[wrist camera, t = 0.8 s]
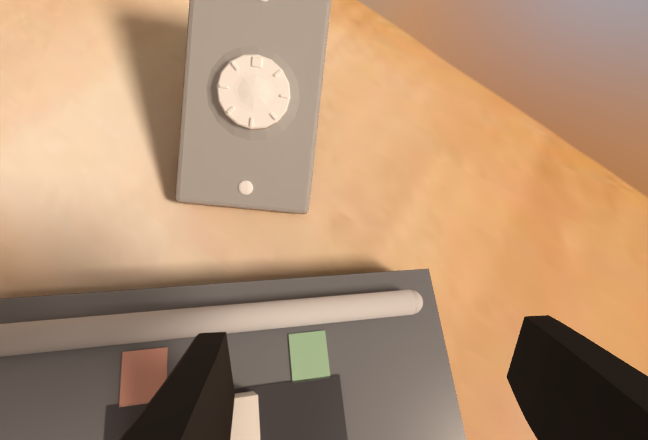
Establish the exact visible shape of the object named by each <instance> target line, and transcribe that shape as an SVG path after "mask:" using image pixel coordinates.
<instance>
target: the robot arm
mask: <svg viewBox="0 0 648 440" xmlns="http://www.w3.org/2000/svg"><path fill="white" fill-rule="evenodd" d="M507 379H508V381H509V384H510V386H511V388H512V391H513V393H514V395H515V397H516V400H517V402H518V404H519V406H520V408H521V410H522V412H523V415H524V417H525V419H526V421H527V422H528V424H529V426H530V427H531V429H532V431H533V433H534V434H535V436H536V438H537V439H538V440H648V376H646V375H645V374H643V373H642V372H640V371H638V370H637V369H635V368H633V367H632V366H630V365H629V364H627V363H625V362H624V361H622V360H621V359H619V358H617V357H616V356H614V355H613V354H611V353H610V352H608V351H606V350H605V349H603V348H602V347H600V346H598V345H597V344H595V343H594V342H592V341H591V340H589V339H587V338H586V337H584V336H583V335H581V334H579V333H578V332H576V331H574V330H573V329H571V328H570V327H568V326H566V325H565V324H563V323H561V322H559V321H558V320H556V319H554V318H552V317H550V316H549V315H547V316H527V317H524V320H523V324H522V327H521V331H520V334H519V337H518V341H517V344H516V347H515V351H514V354H513V357H512V361H511V364H510V368H509V371H508V374H507ZM234 398H235V391H234V384H233V377H232V370H231V362H230V355H229V348H228V341H227V334H226V332H211V333H199V334H198V335H197V336H196V337H195V338H194V340H193V341H192V343H191V344H190V346H189V347H188V349H187V350H186V352H185V353H184V354H183V356H182V357H181V359H180V360H179V362H178V363H177V365H176V366H175V367H174V369H173V370H172V372H171V373H170V374H169V376H168V377H167V379H166V380H165V381H164V383H163V384H162V386H161V387H160V388H159V389H158V391H157V392H156V393H155V395H154V396H153V397H152V399H151V400H150V401H149V403H148V404H147V405H146V407H145V408H144V409H143V411H142V412H141V413H140V415H139V416H138V417H137V418H136V420H135V421H134V422H133V423H132V425H131V426H130V427H129V428H128V429H127V431H126V432H125V433H124V434H123V435H122V437H121V438H120V439H119V440H230V437H231V428H232V419H233V409H234Z"/></svg>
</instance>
